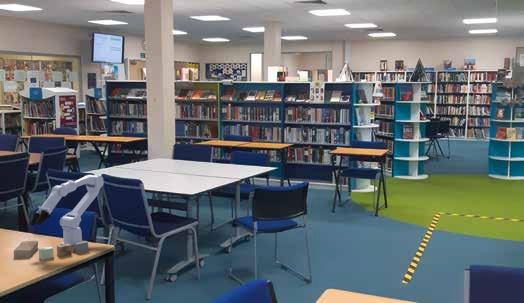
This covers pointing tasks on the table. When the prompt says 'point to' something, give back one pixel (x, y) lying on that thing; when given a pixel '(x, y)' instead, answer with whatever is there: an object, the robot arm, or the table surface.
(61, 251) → the walnut block
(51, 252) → the green block
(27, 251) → the brick
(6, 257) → the table surface
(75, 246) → the grey block
